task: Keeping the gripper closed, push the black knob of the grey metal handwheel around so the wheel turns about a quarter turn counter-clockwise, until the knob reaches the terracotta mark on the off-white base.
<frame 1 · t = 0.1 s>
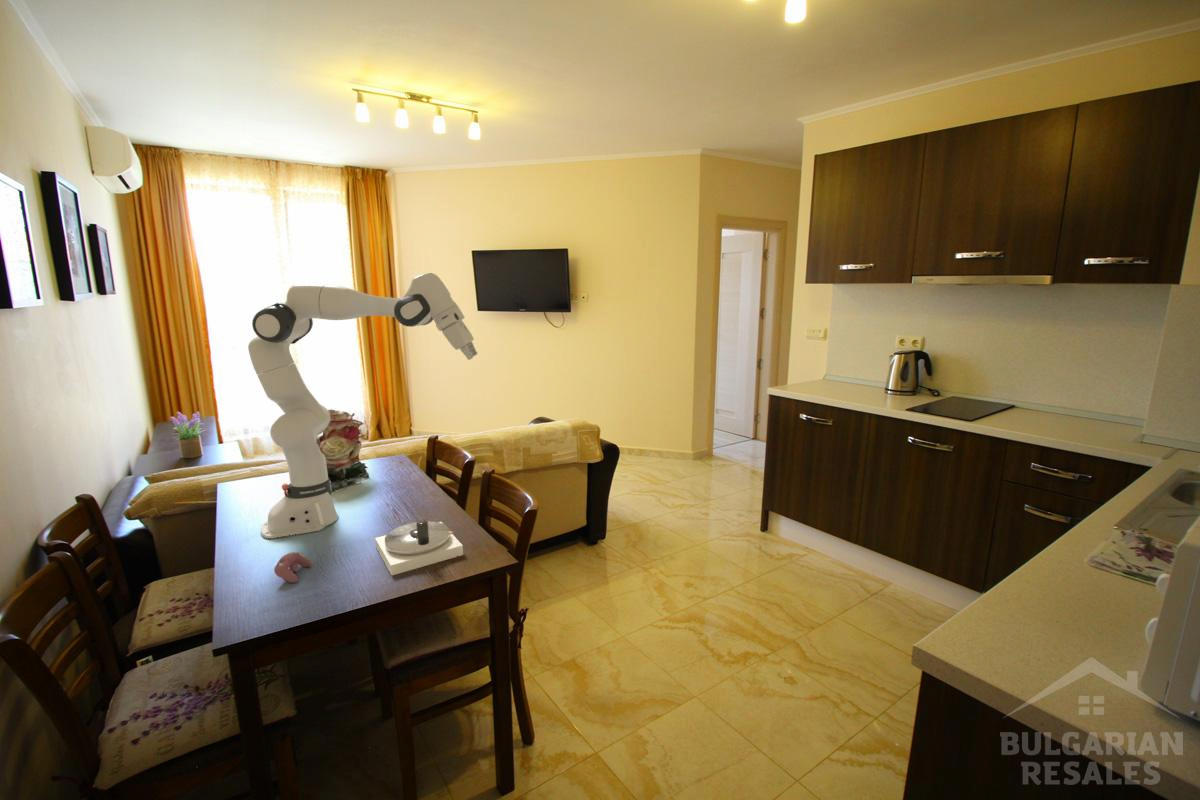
hand: (473, 357, 173), 54 cm above the table, tool tilted 30°, fingers open, 8 cm apart
rose bouquet: (337, 482, 217), on the table
wheel base: (418, 550, 158), on the table
pink curved piece: (294, 575, 145), on the table
handwheel: (416, 528, 156), point 7 cm above the table, hinge at 0.0°
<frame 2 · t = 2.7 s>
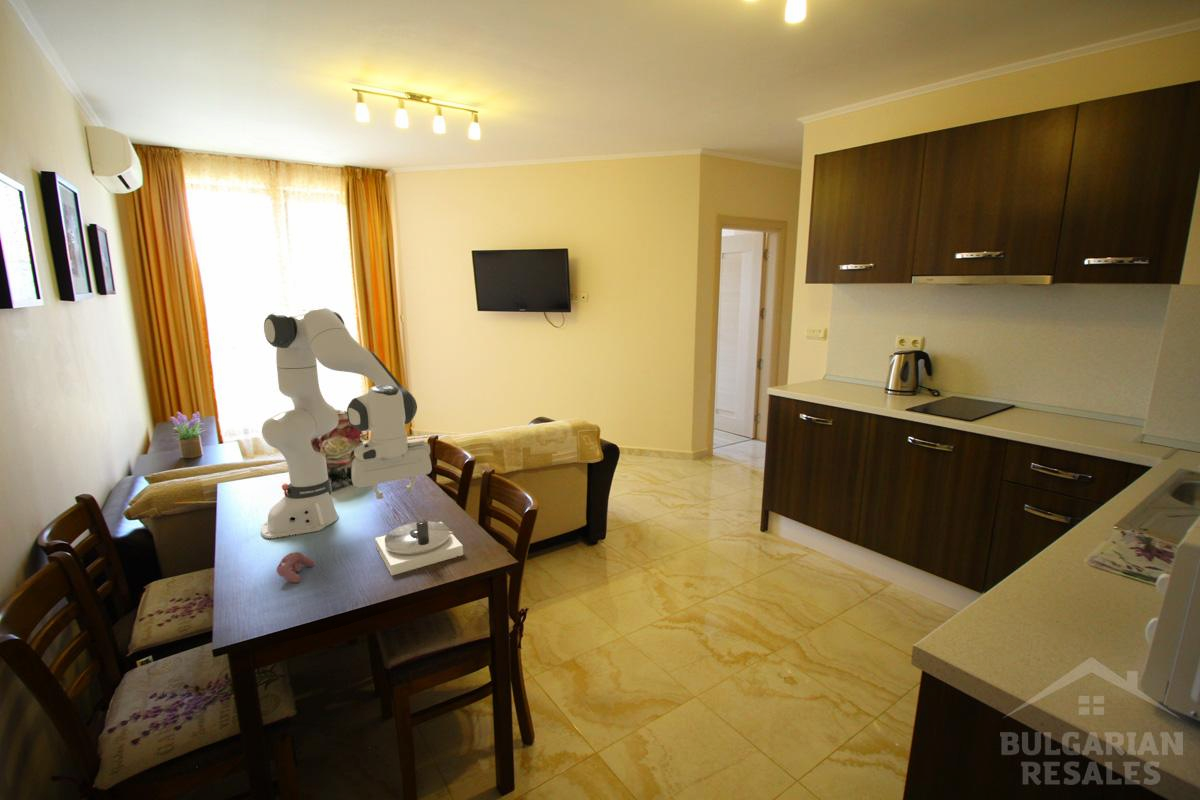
hand: (395, 495, 145), 21 cm above the table, tool pointing down, fingers open, 6 cm apart
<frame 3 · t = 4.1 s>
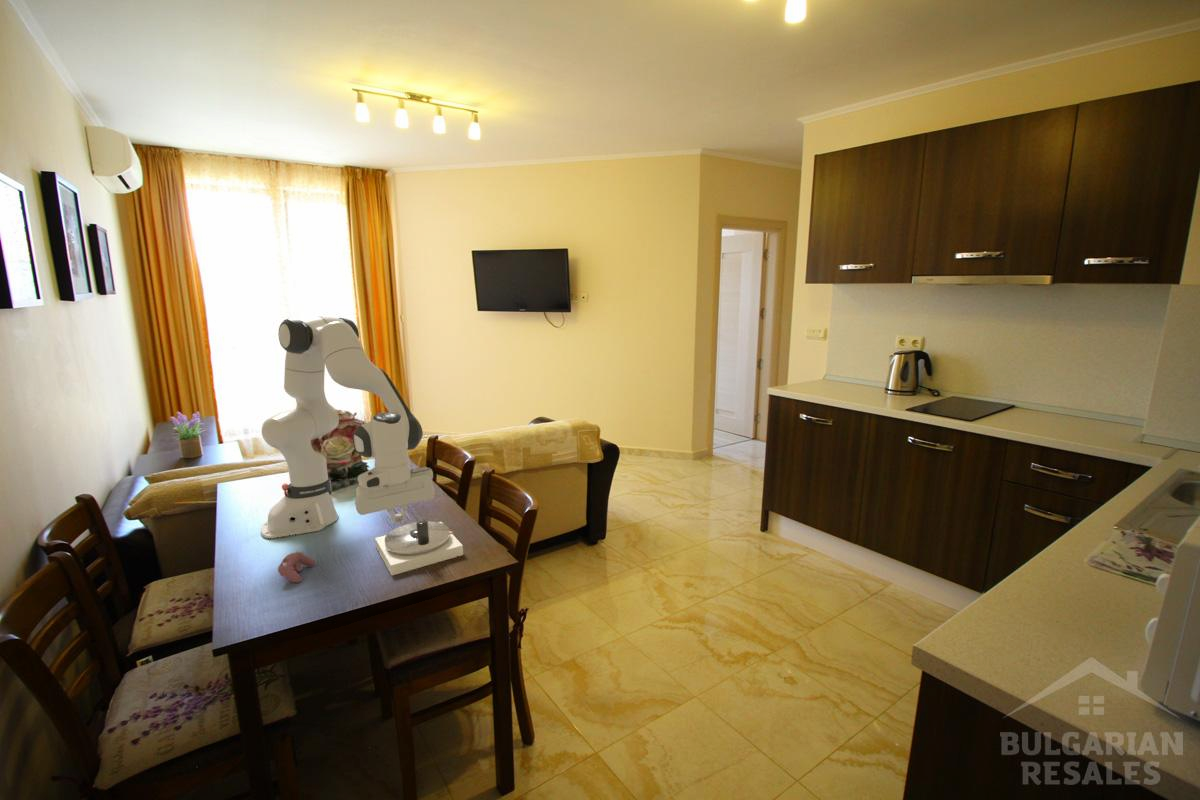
hand: (398, 521, 146), 14 cm above the table, tool pointing down, fingers closed
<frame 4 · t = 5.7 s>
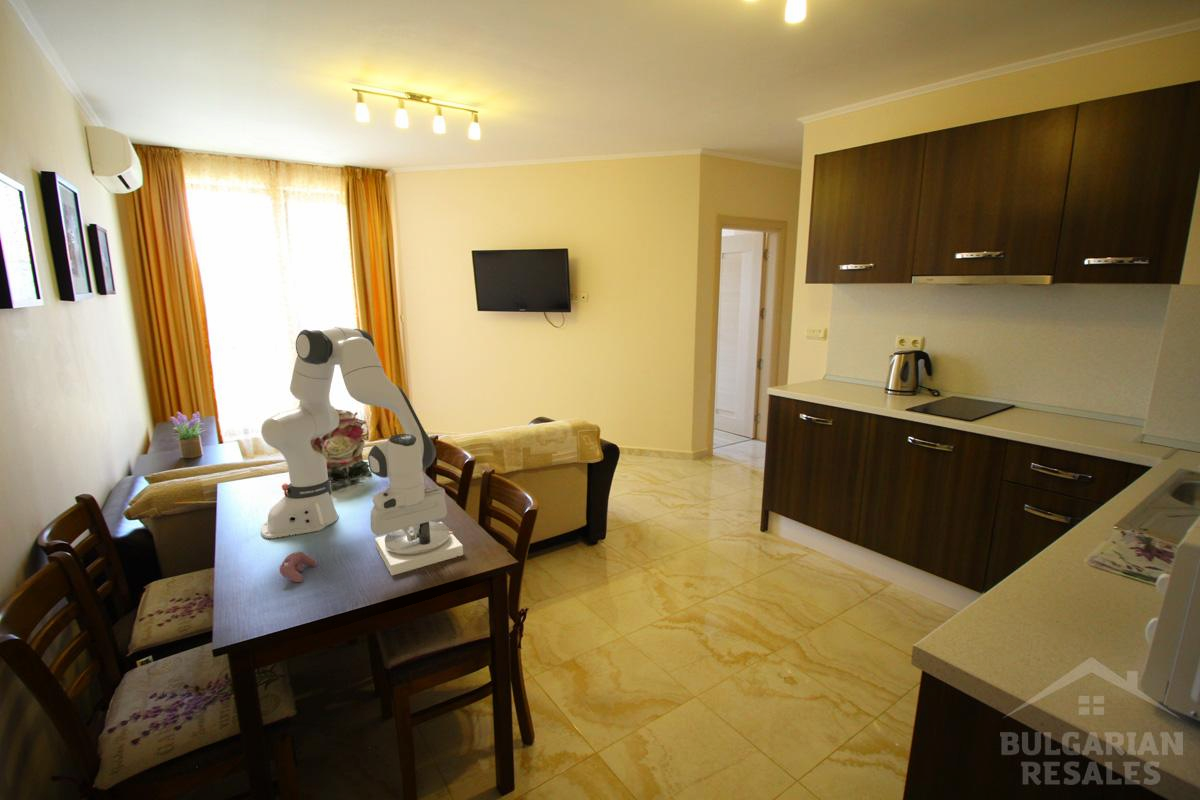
hand: (412, 539, 149), 7 cm above the table, tool pointing down, fingers closed
handwheel: (416, 528, 156), point 7 cm above the table, hinge at 3.5°, touching gripper
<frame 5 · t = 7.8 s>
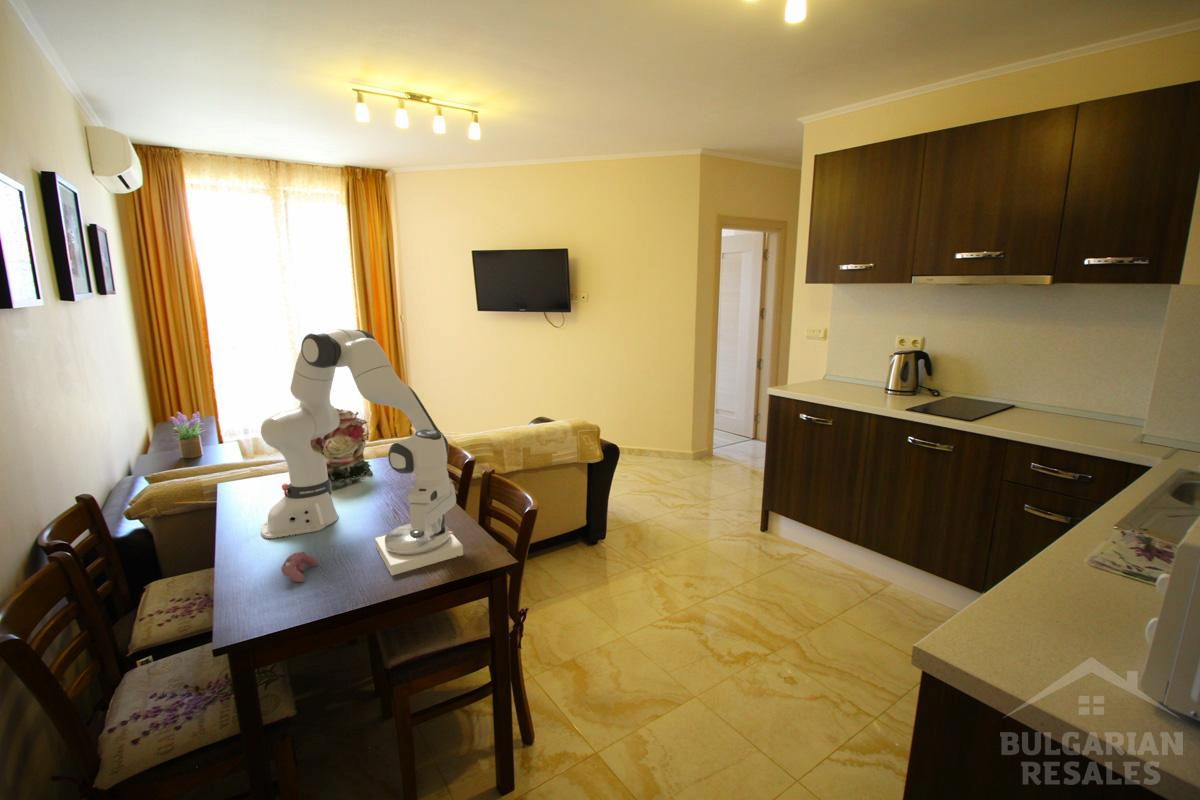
hand: (437, 531, 154), 7 cm above the table, tool pointing down, fingers closed
handwheel: (416, 528, 156), point 7 cm above the table, hinge at 67.7°, touching gripper
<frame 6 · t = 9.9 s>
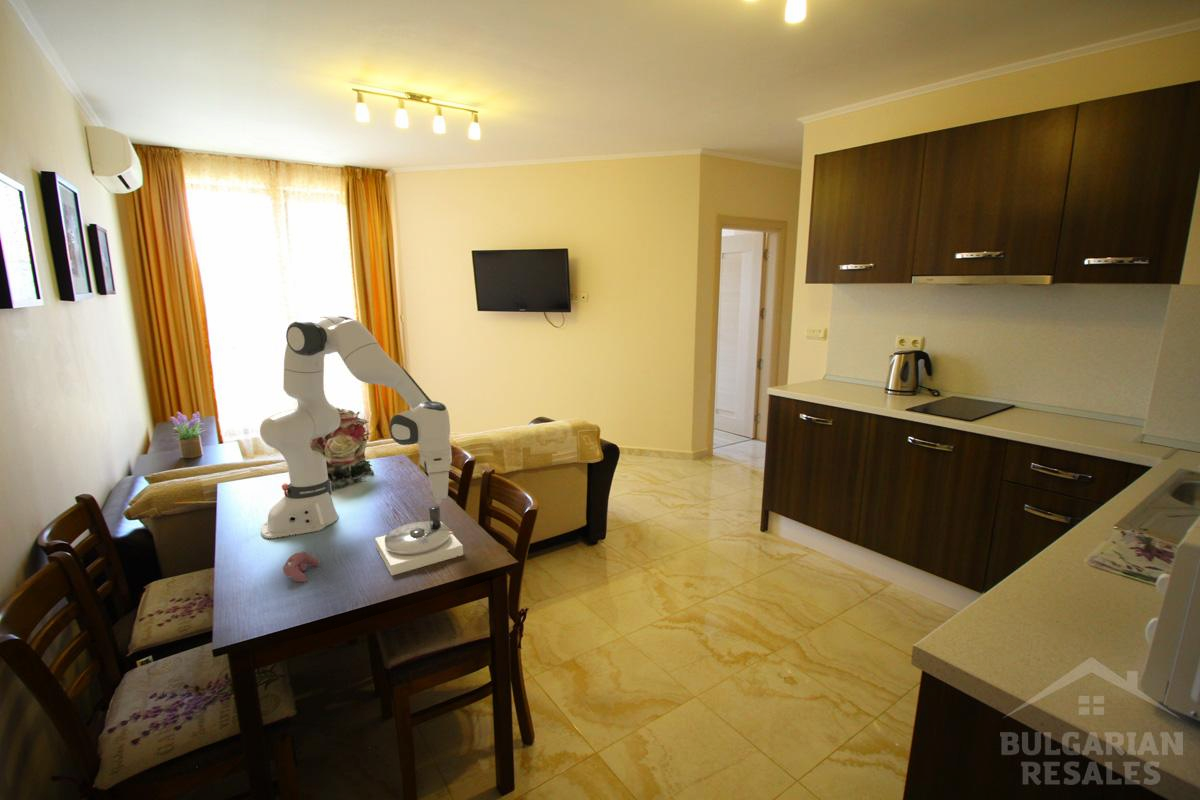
hand: (438, 501, 157), 14 cm above the table, tool pointing down, fingers closed
handwheel: (416, 528, 156), point 7 cm above the table, hinge at 110.2°
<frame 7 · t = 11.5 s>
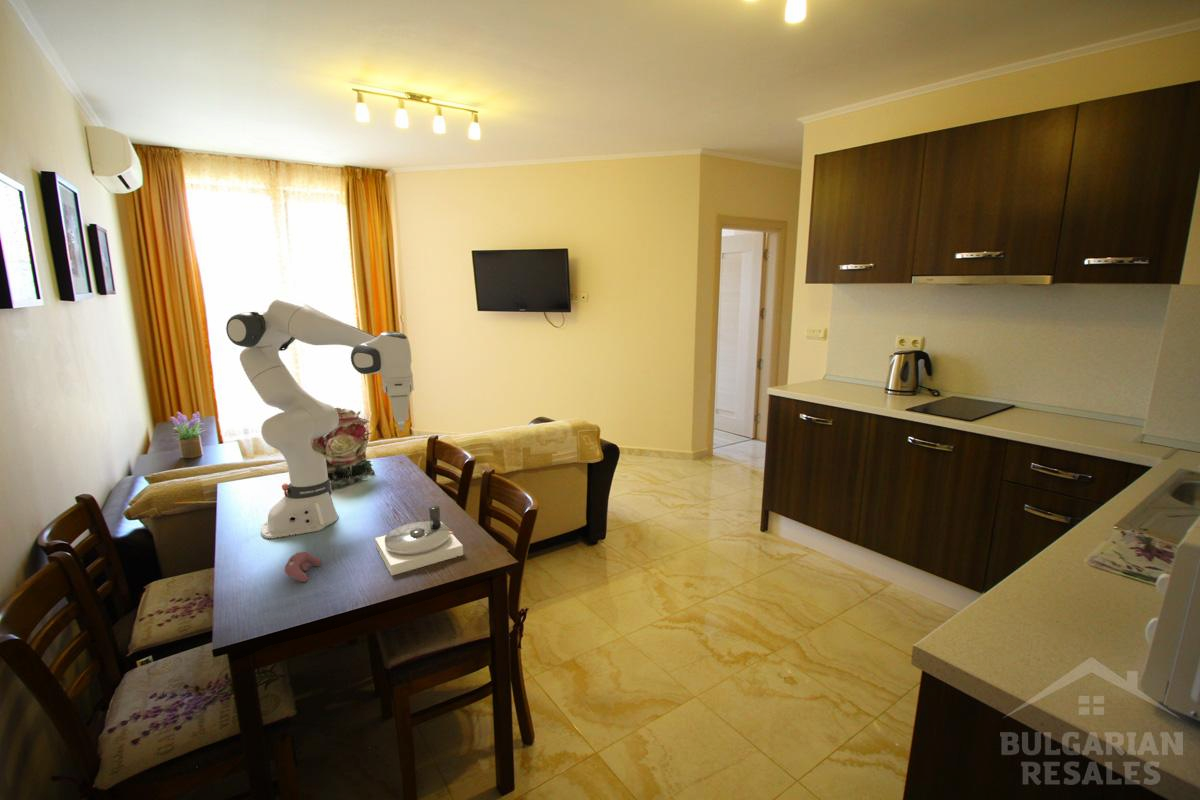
hand: (401, 428, 166), 34 cm above the table, tool pointing down, fingers closed
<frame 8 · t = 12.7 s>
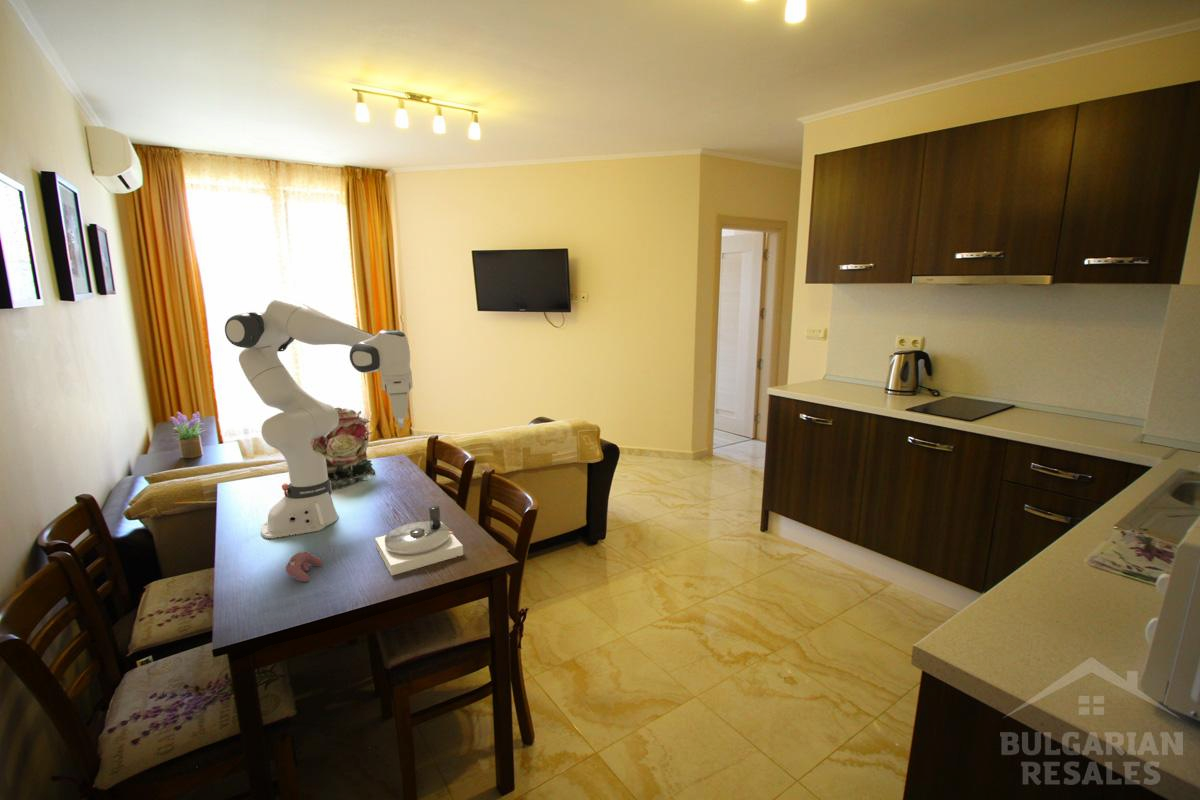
hand: (401, 427, 166), 34 cm above the table, tool pointing down, fingers closed
at the end: handwheel at +110° (first picture: +0°) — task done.
